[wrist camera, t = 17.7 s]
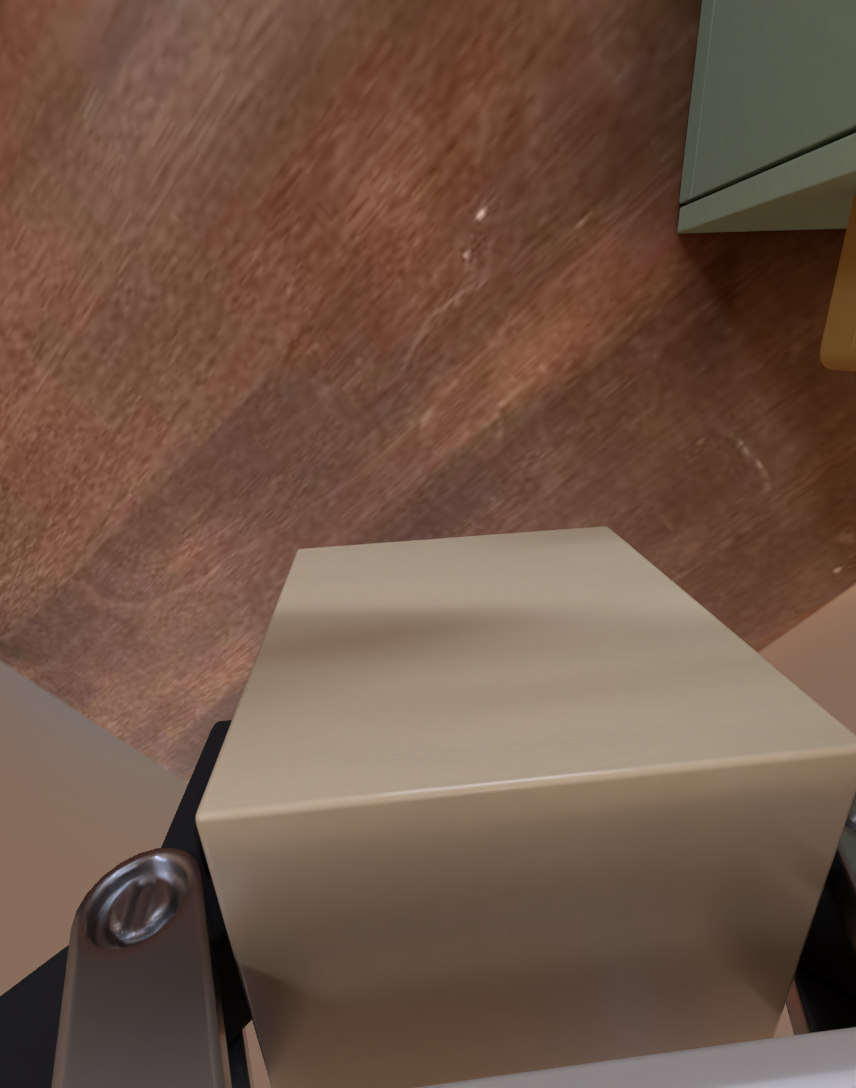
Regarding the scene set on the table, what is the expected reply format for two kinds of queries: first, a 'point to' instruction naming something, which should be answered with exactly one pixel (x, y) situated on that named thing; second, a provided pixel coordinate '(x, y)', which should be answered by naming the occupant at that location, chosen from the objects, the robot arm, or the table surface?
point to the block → (513, 815)
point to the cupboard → (767, 88)
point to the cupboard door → (798, 225)
